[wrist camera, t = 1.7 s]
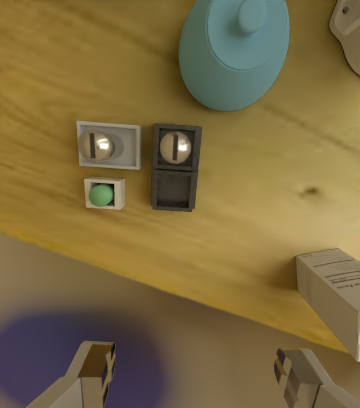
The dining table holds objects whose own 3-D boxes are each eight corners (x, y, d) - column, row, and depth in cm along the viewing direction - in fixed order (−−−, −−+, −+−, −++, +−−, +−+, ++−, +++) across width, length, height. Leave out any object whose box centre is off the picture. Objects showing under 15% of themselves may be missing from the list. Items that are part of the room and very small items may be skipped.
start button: (94, 182, 34) (87, 185, 32) (114, 184, 34) (109, 187, 32) (95, 201, 35) (89, 206, 32) (114, 203, 35) (109, 207, 32)
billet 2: (165, 134, 33) (160, 130, 25) (189, 136, 33) (192, 132, 25) (163, 159, 34) (159, 162, 26) (187, 160, 34) (189, 164, 26)
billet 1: (100, 133, 33) (75, 128, 25) (124, 134, 33) (107, 130, 26) (101, 157, 34) (78, 160, 27) (124, 158, 34) (108, 162, 27)
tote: (82, 122, 33) (76, 120, 31) (142, 126, 33) (139, 125, 31) (85, 164, 35) (79, 165, 33) (141, 168, 35) (139, 169, 33)
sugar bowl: (183, 118, 33) (185, 103, 22) (173, 8, 29) (170, -79, 18) (273, 108, 33) (321, 88, 22) (276, -4, 29) (338, -100, 18)
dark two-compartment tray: (154, 124, 33) (151, 121, 30) (201, 128, 33) (203, 125, 30) (151, 204, 37) (148, 210, 34) (194, 206, 37) (195, 212, 34)
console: (91, 176, 36) (84, 178, 33) (125, 178, 36) (120, 181, 33) (93, 202, 37) (86, 207, 34) (125, 204, 37) (120, 209, 34)
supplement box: (339, 284, 42) (421, 355, 28) (296, 291, 43) (356, 364, 28) (340, 246, 40) (431, 303, 25) (295, 254, 40) (359, 314, 26)
